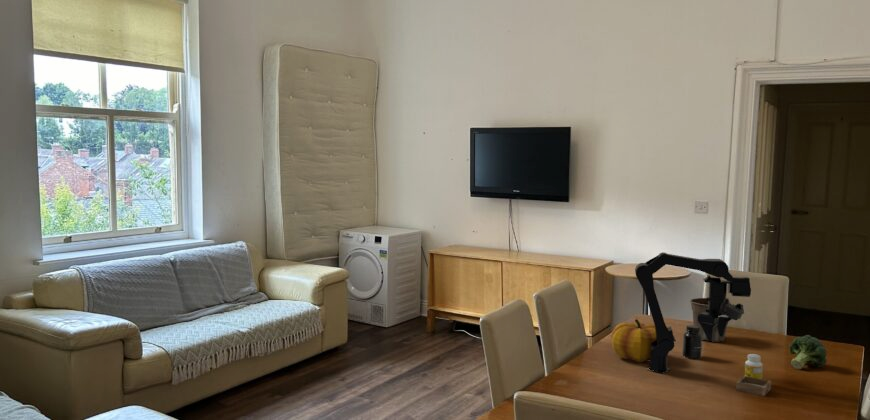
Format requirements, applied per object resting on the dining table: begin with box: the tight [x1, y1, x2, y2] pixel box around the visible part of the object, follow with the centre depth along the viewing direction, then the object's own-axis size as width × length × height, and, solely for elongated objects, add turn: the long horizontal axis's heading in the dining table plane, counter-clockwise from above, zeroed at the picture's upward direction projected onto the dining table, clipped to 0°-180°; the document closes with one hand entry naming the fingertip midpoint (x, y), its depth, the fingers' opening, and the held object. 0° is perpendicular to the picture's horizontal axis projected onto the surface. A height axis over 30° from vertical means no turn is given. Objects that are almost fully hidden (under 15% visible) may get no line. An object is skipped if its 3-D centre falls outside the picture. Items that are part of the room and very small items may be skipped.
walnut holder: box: [735, 375, 772, 397], centre depth 220 cm, size 9×9×3 cm
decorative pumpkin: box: [611, 318, 656, 363], centre depth 254 cm, size 20×22×15 cm
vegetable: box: [788, 334, 828, 370], centre depth 245 cm, size 12×13×15 cm
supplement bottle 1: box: [682, 324, 703, 360], centre depth 256 cm, size 7×7×12 cm
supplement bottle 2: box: [744, 353, 764, 379], centre depth 226 cm, size 5×5×10 cm
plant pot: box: [689, 297, 732, 343], centre depth 282 cm, size 16×16×16 cm
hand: (715, 338), depth 234 cm, fingers open, 9 cm apart
